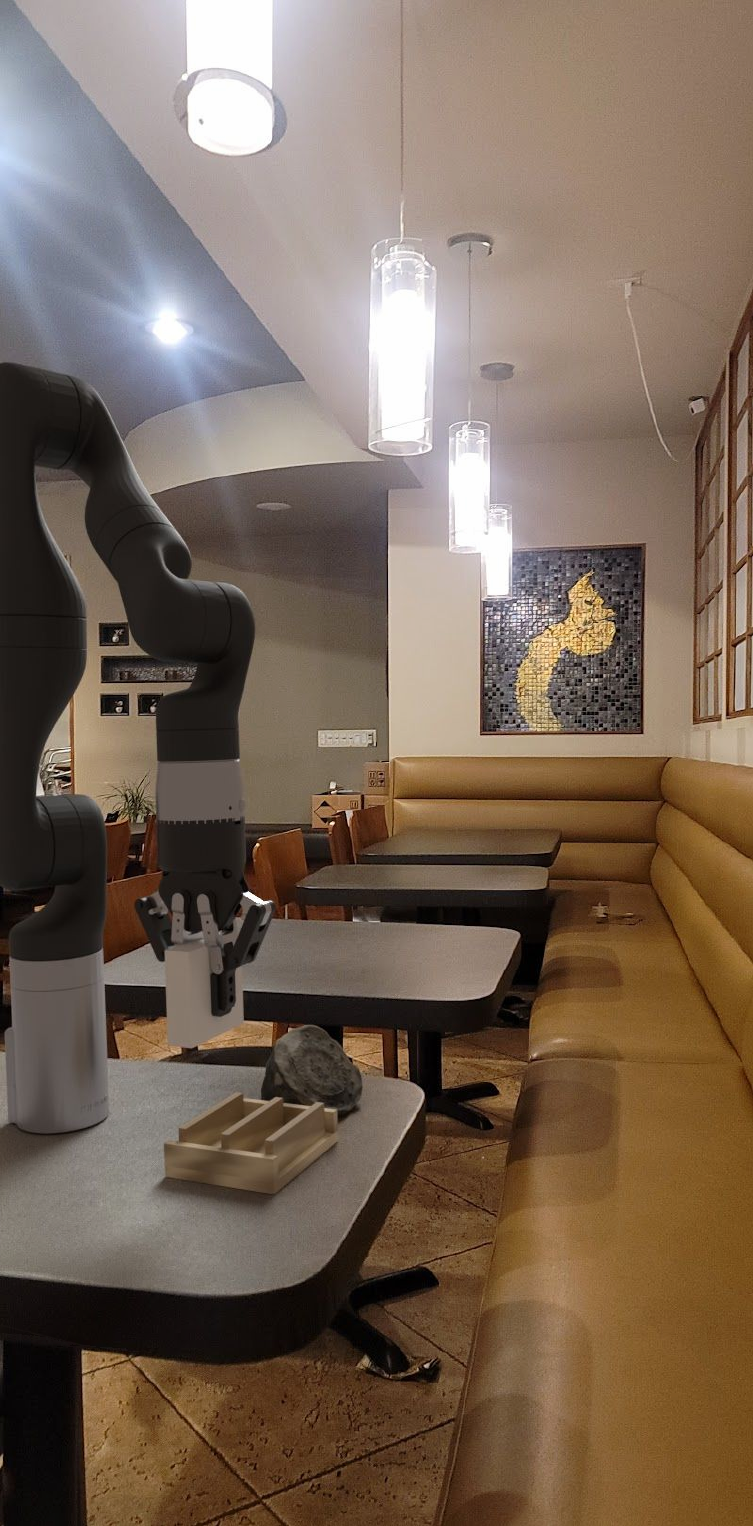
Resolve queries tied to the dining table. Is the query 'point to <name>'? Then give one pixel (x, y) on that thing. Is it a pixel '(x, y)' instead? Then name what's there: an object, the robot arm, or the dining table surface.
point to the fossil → (311, 1071)
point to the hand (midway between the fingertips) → (207, 1012)
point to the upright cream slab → (195, 997)
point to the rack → (251, 1143)
